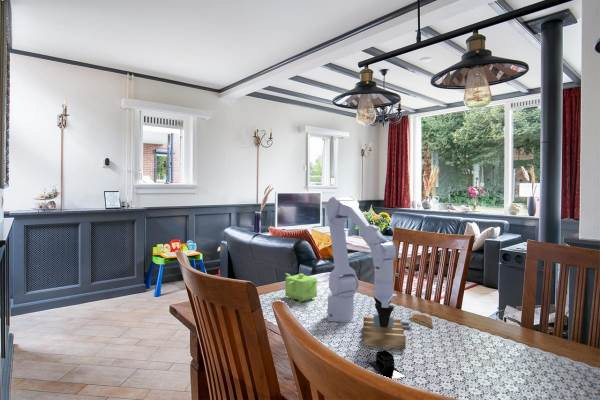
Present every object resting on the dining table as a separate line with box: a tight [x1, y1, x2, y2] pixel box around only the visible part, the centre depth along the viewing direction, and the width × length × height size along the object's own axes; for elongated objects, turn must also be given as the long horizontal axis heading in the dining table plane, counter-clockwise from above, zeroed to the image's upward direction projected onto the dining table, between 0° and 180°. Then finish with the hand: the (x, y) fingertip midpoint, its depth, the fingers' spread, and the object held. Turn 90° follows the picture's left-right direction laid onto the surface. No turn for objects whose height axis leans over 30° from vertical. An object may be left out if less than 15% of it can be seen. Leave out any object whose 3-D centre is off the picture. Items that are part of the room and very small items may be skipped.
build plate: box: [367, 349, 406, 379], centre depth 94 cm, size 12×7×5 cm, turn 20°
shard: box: [409, 313, 434, 329], centre depth 126 cm, size 11×8×2 cm
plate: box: [372, 314, 394, 328], centre depth 113 cm, size 6×2×6 cm, turn 81°
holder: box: [400, 321, 412, 331], centre depth 122 cm, size 7×5×1 cm
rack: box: [362, 316, 407, 349], centre depth 113 cm, size 12×14×4 cm
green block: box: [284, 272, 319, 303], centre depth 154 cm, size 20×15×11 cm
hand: (383, 323), depth 113 cm, fingers open, 6 cm apart
